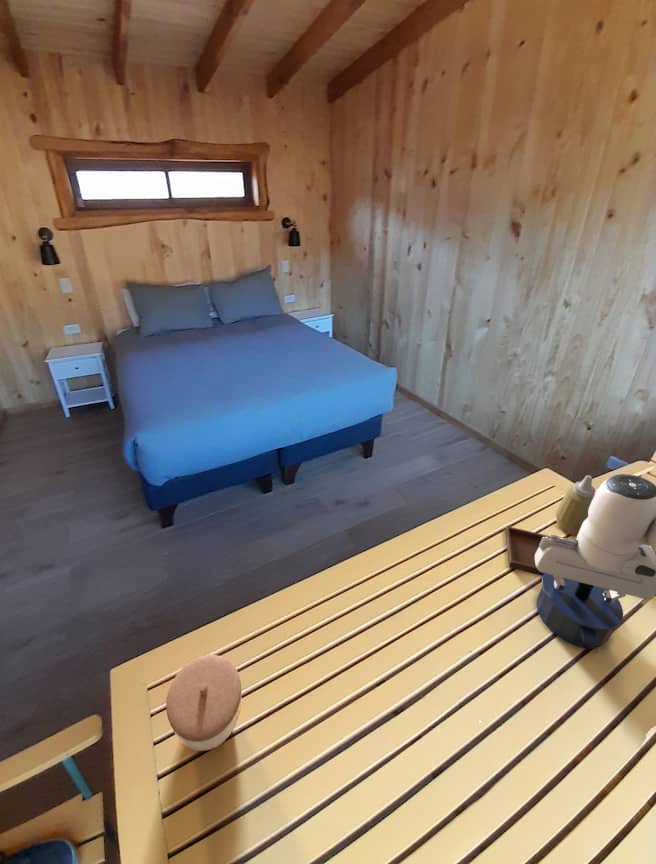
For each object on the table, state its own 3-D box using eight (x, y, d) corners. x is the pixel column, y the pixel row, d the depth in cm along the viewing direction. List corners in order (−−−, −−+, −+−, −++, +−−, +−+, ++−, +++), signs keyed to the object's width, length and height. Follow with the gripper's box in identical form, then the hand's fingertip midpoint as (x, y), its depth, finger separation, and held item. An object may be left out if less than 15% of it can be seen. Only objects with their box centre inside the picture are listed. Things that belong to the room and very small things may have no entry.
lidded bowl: (180, 781, 65) (169, 748, 60) (169, 699, 76) (159, 666, 71) (254, 741, 70) (249, 708, 65) (234, 669, 80) (229, 636, 75)
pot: (595, 590, 94) (605, 569, 91) (621, 672, 78) (634, 651, 75) (531, 573, 98) (538, 553, 95) (543, 648, 82) (552, 627, 79)
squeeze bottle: (547, 515, 115) (565, 465, 107) (577, 518, 114) (598, 467, 105) (559, 537, 108) (580, 485, 99) (592, 540, 106) (615, 488, 98)
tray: (577, 548, 104) (580, 543, 103) (589, 588, 94) (592, 582, 93) (505, 531, 110) (506, 526, 109) (509, 567, 100) (510, 561, 99)
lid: (609, 580, 89) (617, 564, 87) (632, 643, 77) (641, 626, 75) (536, 562, 94) (542, 546, 91) (546, 618, 82) (553, 602, 79)
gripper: (545, 545, 79) (528, 591, 85) (674, 576, 72) (645, 623, 79) (540, 522, 84) (525, 567, 90) (660, 549, 78) (634, 595, 84)
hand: (582, 593), depth 84 cm, fingers open, 7 cm apart
